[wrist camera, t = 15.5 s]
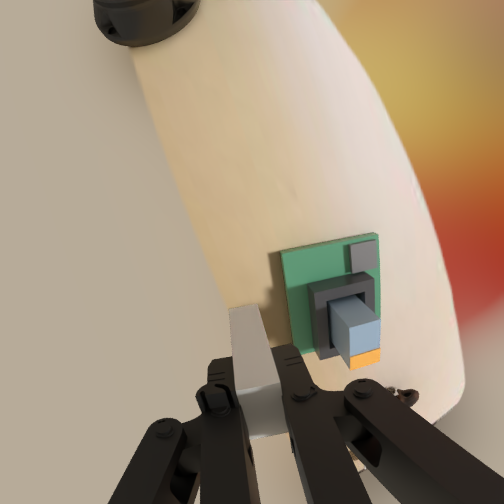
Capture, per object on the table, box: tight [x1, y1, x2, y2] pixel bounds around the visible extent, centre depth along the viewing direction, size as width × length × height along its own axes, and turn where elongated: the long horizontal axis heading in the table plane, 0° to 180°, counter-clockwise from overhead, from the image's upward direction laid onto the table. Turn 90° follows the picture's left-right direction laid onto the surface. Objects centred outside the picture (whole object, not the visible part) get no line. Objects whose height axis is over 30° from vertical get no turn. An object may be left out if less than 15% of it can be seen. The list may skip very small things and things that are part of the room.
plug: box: [326, 294, 381, 370], centre depth 37 cm, size 6×4×10 cm, turn 10°
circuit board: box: [280, 233, 380, 360], centre depth 40 cm, size 16×14×5 cm
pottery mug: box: [397, 389, 419, 407], centre depth 47 cm, size 12×10×8 cm
